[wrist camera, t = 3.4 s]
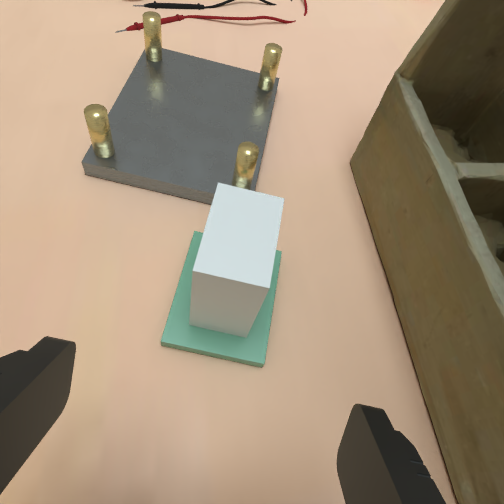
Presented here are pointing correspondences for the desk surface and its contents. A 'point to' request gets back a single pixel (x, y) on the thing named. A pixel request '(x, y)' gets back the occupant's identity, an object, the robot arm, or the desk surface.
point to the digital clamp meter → (195, 6)
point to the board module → (229, 280)
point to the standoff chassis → (183, 122)
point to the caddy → (447, 230)
